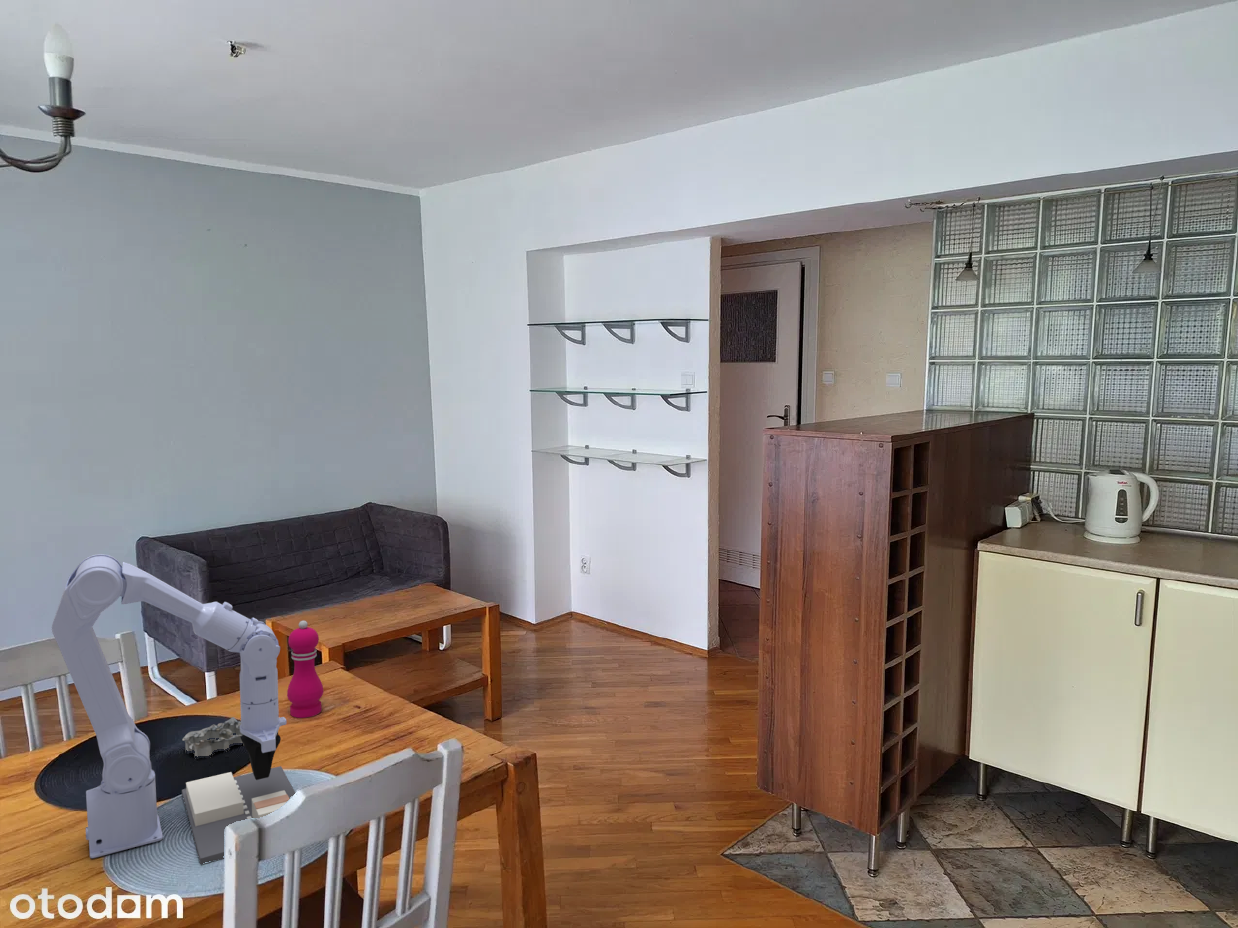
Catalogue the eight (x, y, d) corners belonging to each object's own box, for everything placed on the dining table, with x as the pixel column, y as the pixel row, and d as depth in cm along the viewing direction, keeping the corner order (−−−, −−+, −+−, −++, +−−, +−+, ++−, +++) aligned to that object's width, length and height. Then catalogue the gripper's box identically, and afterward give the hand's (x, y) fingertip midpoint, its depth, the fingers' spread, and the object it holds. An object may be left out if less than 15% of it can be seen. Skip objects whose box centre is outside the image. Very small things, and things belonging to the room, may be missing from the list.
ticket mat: (200, 864, 121) (199, 845, 121) (182, 795, 141) (181, 778, 141) (313, 832, 130) (313, 814, 130) (281, 771, 150) (280, 755, 150)
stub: (259, 833, 128) (258, 813, 128) (252, 816, 133) (251, 797, 133) (293, 824, 131) (292, 804, 130) (285, 807, 136) (284, 788, 135)
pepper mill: (286, 708, 178) (283, 617, 176) (322, 703, 181) (319, 614, 179) (288, 721, 172) (285, 627, 169) (325, 715, 175) (322, 623, 172)
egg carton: (198, 763, 154) (196, 742, 153) (180, 751, 158) (179, 731, 158) (254, 743, 162) (253, 723, 161) (235, 732, 166) (234, 713, 166)
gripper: (294, 707, 132) (296, 788, 134) (276, 679, 145) (278, 754, 146) (247, 717, 129) (249, 800, 130) (231, 687, 141) (234, 763, 142)
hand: (261, 776), depth 138 cm, fingers closed
